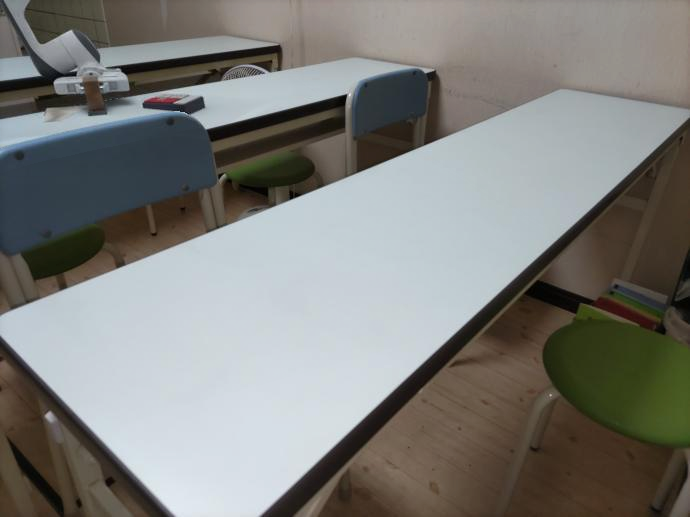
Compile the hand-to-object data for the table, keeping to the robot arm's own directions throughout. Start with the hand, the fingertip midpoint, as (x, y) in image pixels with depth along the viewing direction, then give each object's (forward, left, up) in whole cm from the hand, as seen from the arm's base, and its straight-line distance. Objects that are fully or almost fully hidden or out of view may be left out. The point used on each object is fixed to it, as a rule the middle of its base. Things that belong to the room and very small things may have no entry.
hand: (92, 90), depth 147 cm
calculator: (+22, 0, -8) cm, 23 cm away
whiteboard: (-4, +1, -8) cm, 8 cm away
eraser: (0, +1, -6) cm, 6 cm away
